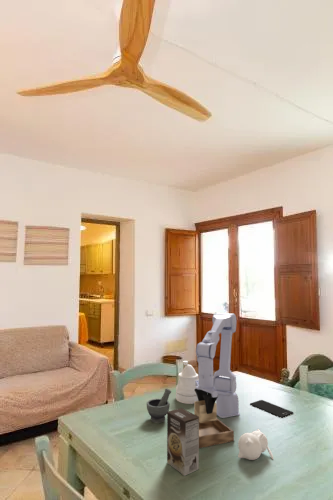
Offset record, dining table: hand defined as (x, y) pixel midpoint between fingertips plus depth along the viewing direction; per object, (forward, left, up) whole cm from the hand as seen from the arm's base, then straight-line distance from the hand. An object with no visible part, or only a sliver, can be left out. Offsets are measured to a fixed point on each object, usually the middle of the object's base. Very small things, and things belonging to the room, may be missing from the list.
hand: (205, 410), depth 125 cm
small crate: (0, 0, -3) cm, 3 cm away
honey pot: (-10, -36, -9) cm, 39 cm away
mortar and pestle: (+12, -19, -9) cm, 24 cm away
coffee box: (+17, +16, -9) cm, 25 cm away
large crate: (0, +1, -9) cm, 9 cm away
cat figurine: (-8, +20, -9) cm, 23 cm away
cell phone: (-40, -11, -10) cm, 43 cm away
